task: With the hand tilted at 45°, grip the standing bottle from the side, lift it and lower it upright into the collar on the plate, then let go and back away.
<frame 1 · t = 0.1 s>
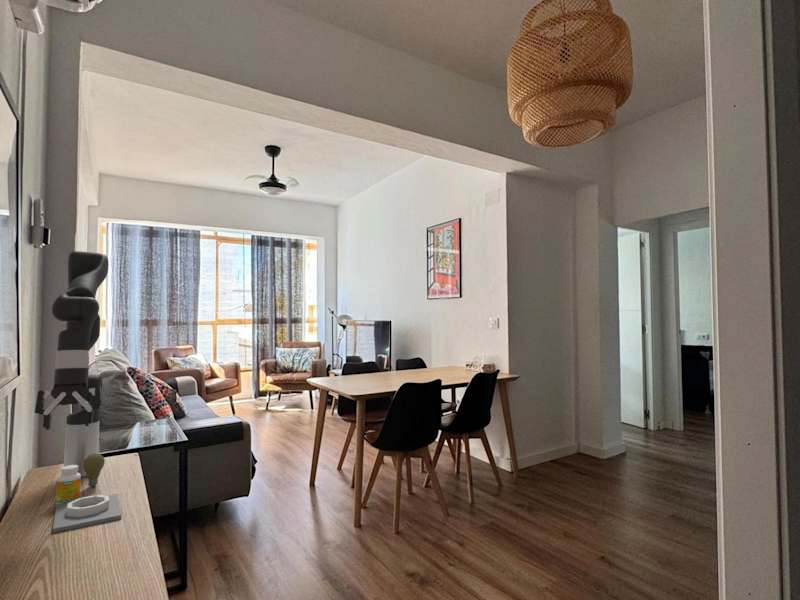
hand: (67, 427, 118), 22 cm above the table, tool pointing down, fingers open, 8 cm apart
collar plate: (88, 513, 116), on the table
supplement bottle: (67, 502, 124), on the table
light bulb: (92, 487, 136), on the table
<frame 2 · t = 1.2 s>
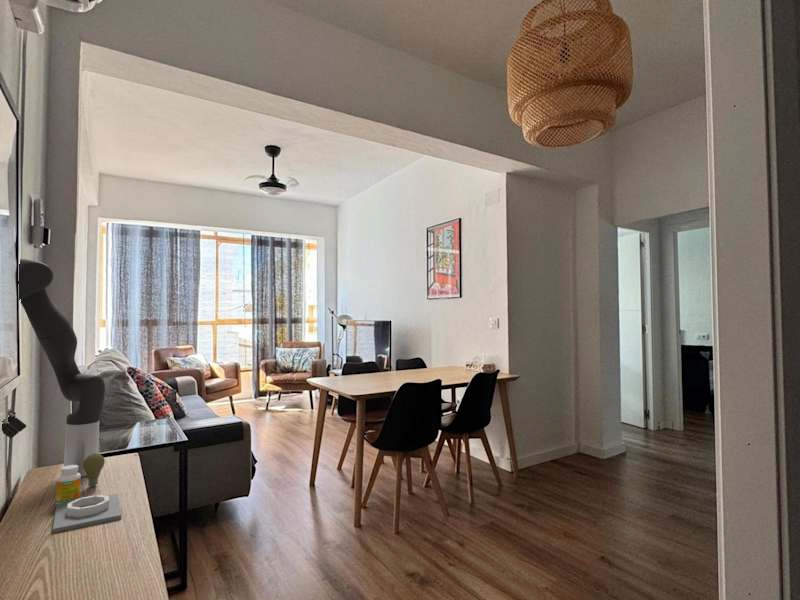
hand: (19, 432, 119), 21 cm above the table, tool tilted 45°, fingers open, 8 cm apart
nothing on the table moved.
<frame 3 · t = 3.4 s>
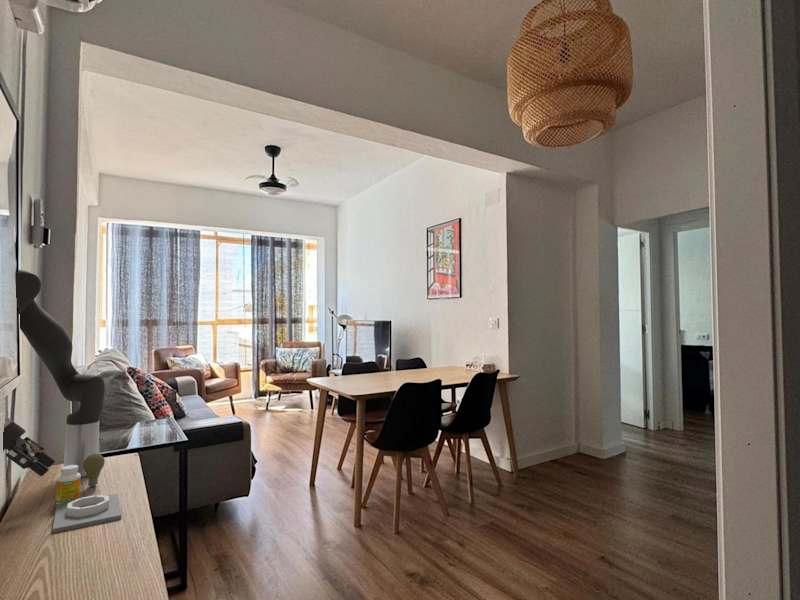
hand: (48, 468, 122), 10 cm above the table, tool tilted 45°, fingers open, 8 cm apart
nothing on the table moved.
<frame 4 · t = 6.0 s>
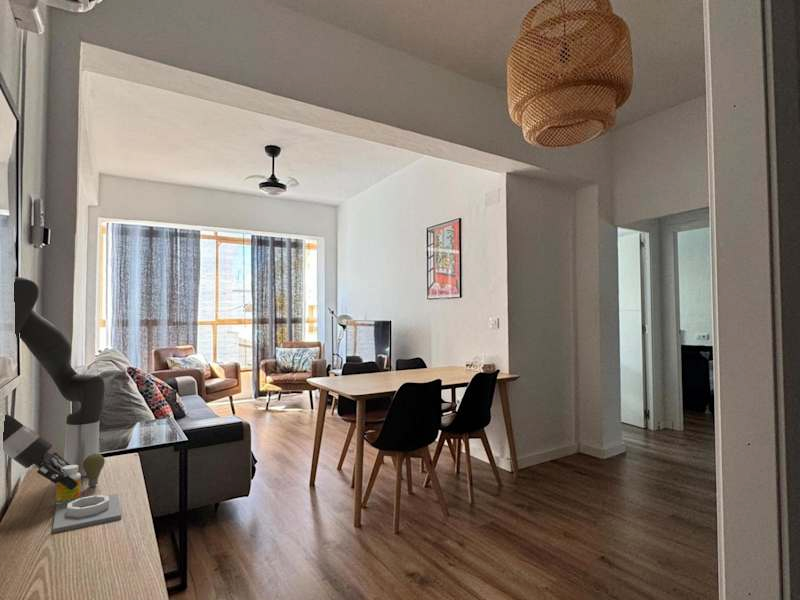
hand: (76, 483, 125), 5 cm above the table, tool tilted 45°, fingers closed on supplement bottle, 5 cm apart
supplement bottle: (67, 502, 124), on the table, touching gripper
everything else where it was.
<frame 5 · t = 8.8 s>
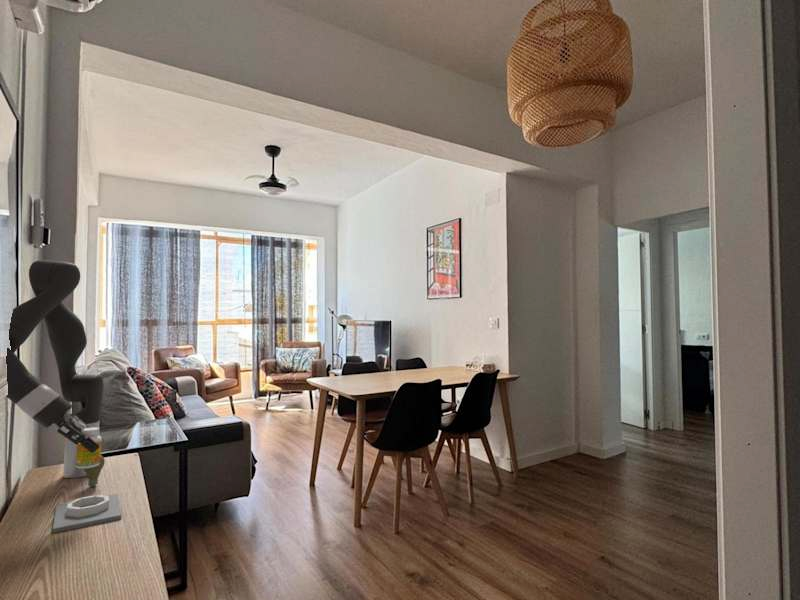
hand: (97, 446, 118), 17 cm above the table, tool tilted 45°, fingers closed on supplement bottle, 5 cm apart
supplement bottle: (87, 466, 117), point 12 cm above the table, touching gripper
everything else where it was.
when the fingers open (7 cm above the table, at t = 12.1 s): supplement bottle drops 1 cm, resting on collar plate.
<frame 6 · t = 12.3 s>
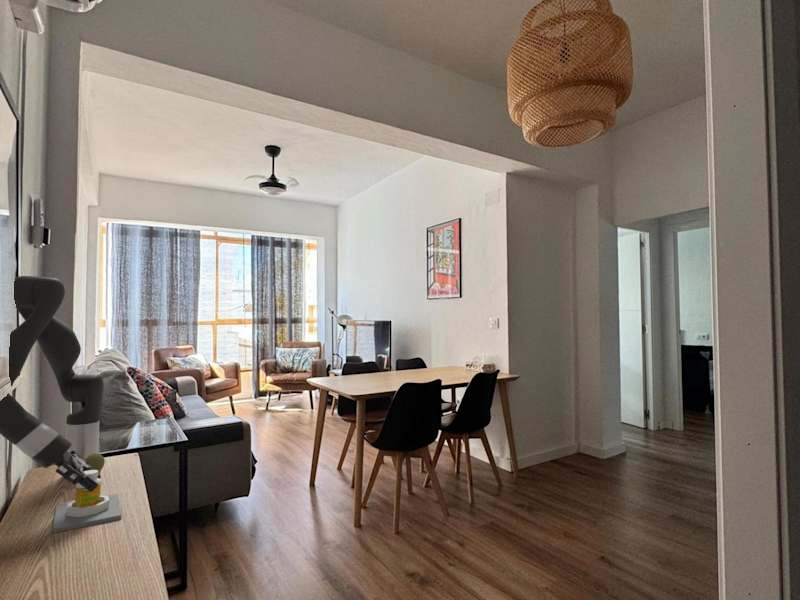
hand: (96, 483, 117), 7 cm above the table, tool tilted 45°, fingers open, 7 cm apart
supplement bottle: (87, 510, 116), point 1 cm above the table, touching collar plate
everything else where it was.
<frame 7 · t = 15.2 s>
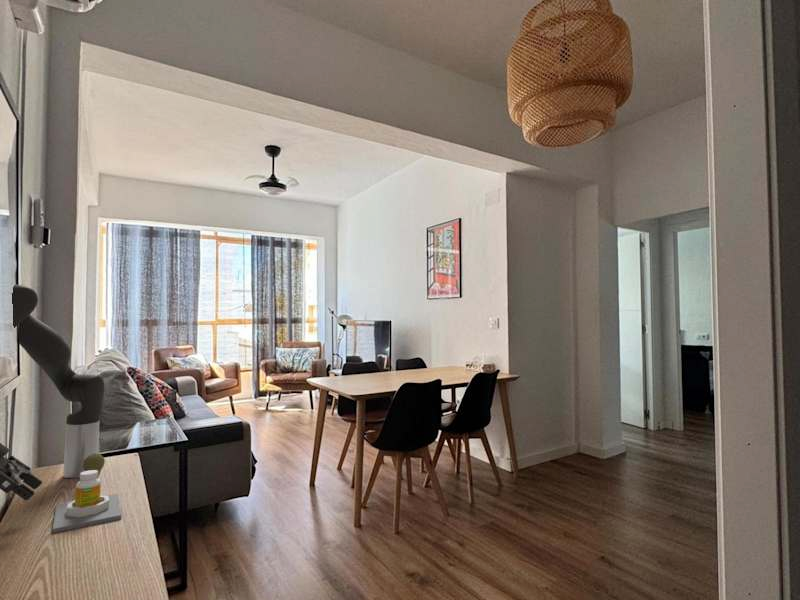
hand: (35, 491, 111), 8 cm above the table, tool tilted 45°, fingers open, 8 cm apart
nothing on the table moved.
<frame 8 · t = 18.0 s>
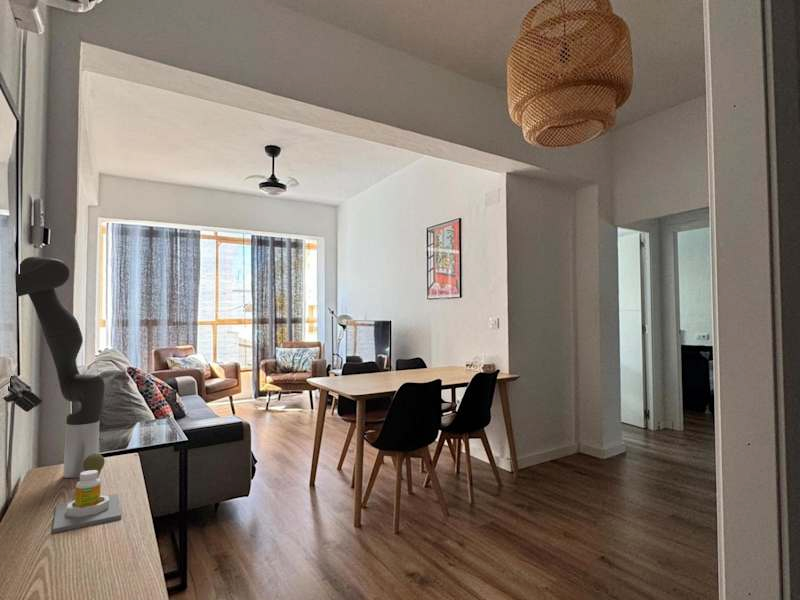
hand: (35, 406, 114), 29 cm above the table, tool tilted 45°, fingers open, 8 cm apart
nothing on the table moved.
at the end: supplement bottle 0.2 cm off-centre on the collar plate, point 0.8 cm above the collar plate's base; supplement bottle tilted 0°; the gripper is holding nothing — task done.
